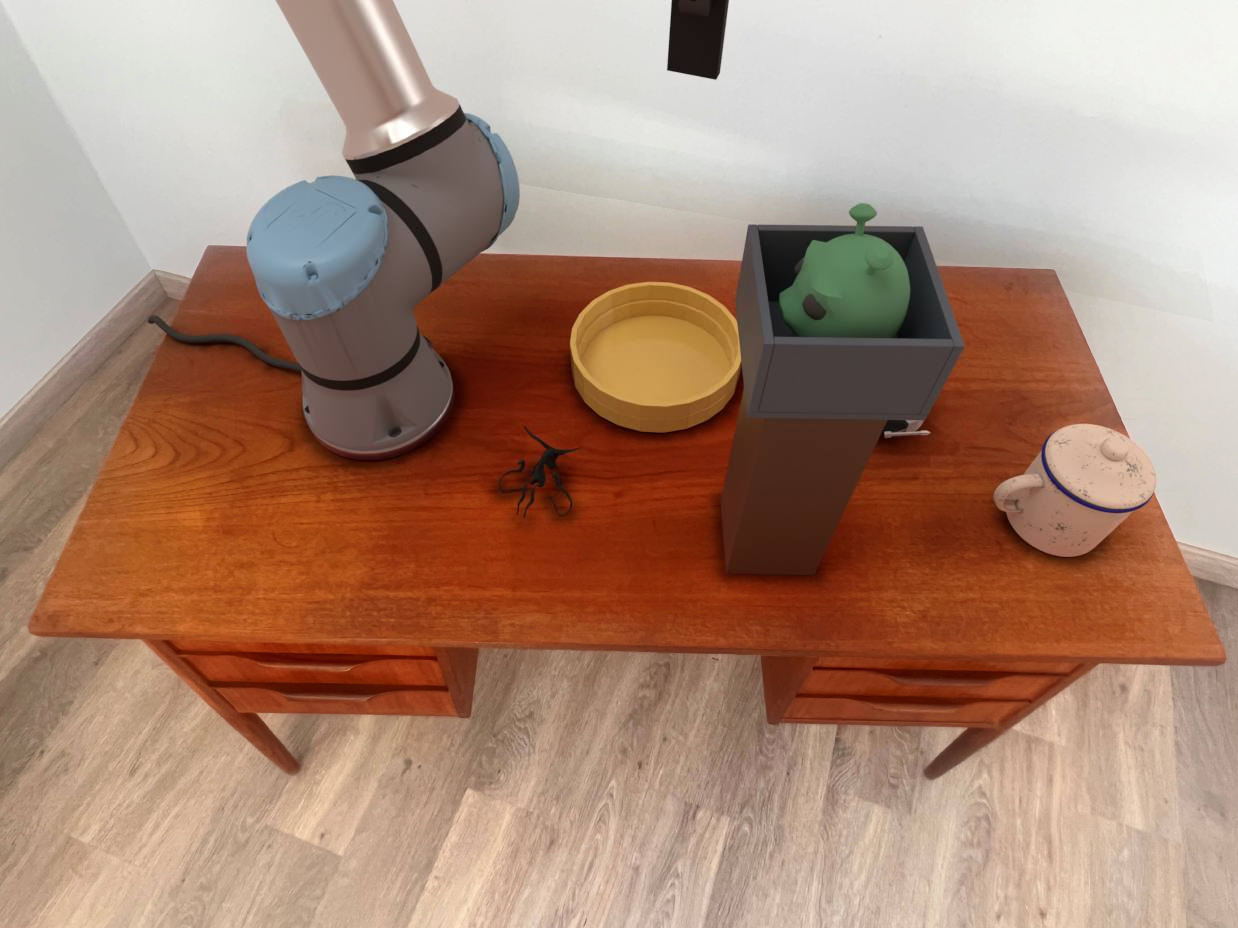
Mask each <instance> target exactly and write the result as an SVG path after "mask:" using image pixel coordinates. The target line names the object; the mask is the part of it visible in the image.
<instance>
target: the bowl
mask: <svg viewBox="0 0 1238 928" xmlns="http://www.w3.org/2000/svg"><path fill="white" fill-rule="evenodd" d="M569 351H570V366H571V373H572V374H571V375H572V378H573V382H574V387H575V389H576V391H577V392H578V393H579V396H580V397H581V399H582V400H583V402H584V403H585V404H586V405H587V406H588V407H589V408H590V409H591V410H592V411H594V412H595V413H596V414H597V415H598V416H600V417H601V418H603V419H605V420H607V421H609V422H611V423H613V424H615V425H616V426H618V427H623V428H626V429H630V430H634V431H637V432H642V433H643V432H645V433H662V434H663V433H668V432H675V431H683V430H687V429H690V428H692V427H695V426H697V425H699V424H702V423H705V422H706V421H708V420H710V419H711V418H712V417H714V416H715V415H716V414H718V413H719V412H721V411H722V410H723V409H724V408H725V406H727V404H728V403H729V401H730V400H731V399H732V397H733V396H734V394H735V391H736V388H737V385H738V382H739V378H740V374H741V370H742V362H741V353H740V343H739V334H738V325H737V318H735V316H734V315H733V314H732V312H731V311H730V310H729V309H728V308H727V307H726V306H725V304H723V303H721V302H719V301H718V300H717V299H715V298H714V297H713V296H711V295H709V294H708V293H705V292H703V291H701V290H698V289H696V288H694V287H691V286H687V285H684V284H678V283H673V282H666V281H665V282H663V281H643V282H636V283H629V284H625V285H622V286H619V287H616V288H613V289H610V290H608V291H606V292H605V293H603V294H601V295H599V296H598V297H596V298H594V299H593V300H592V301H590V302H589V303H588V304H587V305H586V307H585V308H584V309H582V311H580V313H579V314H578V316H577V318H576V319H575V322H574V323H573V325H572V327H571V331H570V341H569Z"/></svg>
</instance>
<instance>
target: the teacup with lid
mask: <svg viewBox="0 0 1238 928" xmlns="http://www.w3.org/2000/svg"><path fill="white" fill-rule="evenodd" d="M1156 487H1157V474H1156V470H1155V467H1154V464H1153V462H1152V461H1151V459H1150V458H1149V456H1148V454H1147V453H1146V452H1145V451H1144V450H1143V448H1142V447H1141V446H1139V444H1137V443H1136V442H1135V441H1133V440H1132V439H1131V438H1129V437H1127V436H1126V435H1124V434H1123V433H1121V432H1119V431H1117V430H1114V429H1112V428H1109V427H1107V426H1102V425H1099V424H1092V423H1075V424H1070V425H1065V426H1064V427H1063V426H1062V427H1061V428H1059V429H1057V430H1055V431H1054V432H1052V433H1050V434H1049V436H1048V437H1046V439H1045V441H1044V442H1043V444H1042V447H1041V450H1040V452H1039V453H1038V454H1037V455H1036V457H1035V458H1034V459H1033V460H1032V462H1031V463H1030V464H1029V466H1028V467H1027V468H1026V470H1025V471H1024V472H1023V474H1021V475H1020V474H1019V475H1017V476H1014V477H1013V476H1012V477H1010V478H1008V479H1006V480H1004V481H1002V482H1001V483H1000V484H999V485H998V486H997V487H996V488H995V490H994V492H993V497H992V498H993V501H994V504H995V506H996V508H997V509H999V510H1000V511H1002V512H1005V513H1006V517H1007V520H1008V522H1009V524H1010V526H1011V527H1012V528H1013V530H1014V531H1015V532H1016V534H1017V535H1018V536H1019V537H1020V538H1021V539H1022V540H1023V541H1024V542H1026V543H1027V544H1028V545H1030V546H1031V547H1033V548H1035V549H1037V550H1038V551H1041V552H1042V553H1045V554H1048V555H1052V556H1056V557H1061V558H1063V557H1065V558H1073V557H1078V556H1082V555H1085V554H1087V553H1089V552H1091V551H1093V550H1094V549H1095V548H1096V547H1097V546H1098V545H1099V544H1100V543H1102V541H1103V540H1105V538H1106V537H1107V536H1109V535H1110V534H1111V533H1112V532H1113V531H1114V530H1115V529H1116V528H1117V527H1119V526H1120V524H1122V523H1123V522H1124V521H1125V520H1126V519H1127V518H1128V517H1129V516H1130V515H1131V514H1133V512H1135V511H1137V510H1139V509H1141V508H1143V507H1145V506H1146V505H1147V504H1148V503H1149V502H1150V501H1151V499H1152V498H1153V495H1154V494H1155V490H1156Z"/></svg>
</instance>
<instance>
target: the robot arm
mask: <svg viewBox="0 0 1238 928" xmlns="http://www.w3.org/2000/svg"><path fill="white" fill-rule="evenodd" d="M275 2H276V4H277V6H278V8H279V9H280V11H281V13H282V15H283V16H284V18H285V20H286V22H287V23H288V25H289V28H290V29H291V31H292V32H293V34H294V37H295V38H296V40H297V42H298V43H299V45H300V47H301V49H302V51H303V52H304V54H305V56H306V58H307V59H308V61H309V63H310V65H311V68H312V69H313V70H314V72H315V74H316V75H317V77H318V79H319V81H320V83H321V85H322V86H323V89H324V90H325V92H326V94H327V95H328V97H329V99H330V101H331V103H332V104H333V106H334V108H335V110H336V112H337V113H338V115H339V117H340V119H341V120H342V122H343V124H344V126H345V137H344V141H343V146H342V150H341V154H342V157H343V158H344V160H345V162H346V163H347V166H348V167H349V169H350V171H351V173H352V174H353V176H354V177H353V178H352V177H348V176H343V175H322V176H317V177H316V178H315V180H314V181H312V182H308V181H307V180H301V181H298V182H296V183H293V184H291V185H289V186H287V187H285V188H284V189H281V190H280V191H279V192H278V193H277V192H276V194H274V195H273V196H272V197H271V198H270V199H268V200H267V202H265V203H264V204H263V205H262V206H261V208H260V209H258V211H257V213H256V214H255V216H254V217H253V219H252V221H251V223H250V225H249V228H248V230H247V234H246V249H245V250H246V251H245V252H246V258H247V261H248V264H249V267H250V269H251V272H252V275H253V277H254V280H255V284H256V288H257V291H258V293H259V296H260V297H261V299H262V300H263V302H264V303H265V304H266V306H267V307H268V308H269V310H270V312H271V314H272V316H273V318H274V320H275V322H276V324H277V326H278V328H279V330H280V332H281V333H282V335H283V338H284V339H285V341H286V343H287V345H288V346H289V349H290V351H291V352H292V354H293V356H294V359H295V360H296V362H294V361H289V360H284V359H279V358H276V357H274V356H271V355H269V354H267V353H265V352H264V351H262V350H261V349H260V348H259V347H258V346H256V345H255V344H254V343H252V342H251V341H250V340H248V339H246V338H244V337H241V336H238V335H233V334H225V333H219V334H218V333H215V334H202V335H192V334H191V335H190V334H186V333H185V334H184V333H182V332H178V331H177V330H175V329H173V327H171V326H170V325H169V324H168V323H167V322H166V321H164V319H163V318H161V317H160V316H158V315H156V314H152V315H150V316H149V317H148V319H147V323H148V324H151V325H154V324H155V325H157V327H159V329H160V330H162V331H163V332H164V333H165V334H167V335H168V336H169V337H171V338H172V339H174V340H176V341H179V342H182V343H189V344H205V343H206V344H207V343H231V344H236V345H238V346H241V347H243V348H245V349H247V350H248V351H249V352H250V353H252V354H253V355H254V356H255V357H256V358H258V359H259V360H260V361H263V362H264V363H266V364H268V365H271V366H274V367H277V368H281V369H285V370H290V371H296V372H298V373H301V391H302V410H303V415H304V419H305V422H306V423H307V425H308V427H309V430H310V431H311V433H312V435H313V436H314V438H315V439H316V440H317V442H319V443H320V444H321V446H323V447H324V448H325V449H327V450H328V451H330V452H332V453H334V454H336V455H337V456H341V457H343V458H347V459H351V460H358V461H378V460H379V461H380V460H387V459H390V458H394V457H398V456H401V455H404V454H407V453H410V452H412V451H413V450H416V449H417V448H419V447H421V446H422V445H424V444H426V443H427V442H428V441H430V440H431V439H432V438H433V437H434V436H435V435H437V433H438V432H439V431H440V430H441V429H442V428H443V427H444V426H445V424H446V423H447V421H448V420H449V417H450V416H451V414H452V412H453V410H454V409H453V408H454V405H455V398H456V395H455V393H456V392H455V386H454V381H453V379H452V375H451V372H450V369H449V367H448V366H447V364H446V363H445V361H444V359H443V358H442V357H441V355H439V353H438V352H437V351H436V350H434V348H436V345H435V344H434V343H433V342H432V341H431V340H430V339H429V338H427V337H426V336H425V335H424V334H422V333H421V332H420V330H419V326H418V323H417V319H416V316H415V315H416V314H415V311H414V310H415V309H416V307H417V306H418V305H419V304H420V303H422V302H423V301H424V300H425V299H426V298H427V297H428V296H429V295H431V293H433V292H434V291H436V290H437V289H439V287H441V286H442V285H443V284H444V283H445V282H446V281H448V280H449V279H450V278H451V277H453V276H454V275H455V274H456V273H458V272H459V271H460V270H461V269H463V268H464V267H465V266H466V265H467V264H469V263H470V262H472V260H473V259H475V258H477V256H478V255H481V254H482V253H483V252H485V251H487V250H489V249H490V248H491V247H492V246H493V245H494V244H495V243H496V242H497V240H498V238H499V237H500V236H501V235H502V234H503V233H504V232H505V231H506V230H507V229H508V228H510V226H511V224H512V223H513V221H514V219H515V217H516V214H517V212H518V209H519V205H520V199H521V198H520V197H521V195H520V194H521V193H520V192H521V191H520V181H519V176H518V170H517V168H516V165H515V162H514V159H513V157H512V154H511V152H510V150H509V148H508V147H507V145H506V143H505V142H504V140H503V139H502V137H501V136H500V134H499V133H497V132H494V133H493V132H492V131H491V126H490V124H489V123H488V122H486V121H485V120H484V119H483V118H481V117H479V116H477V115H475V114H472V113H469V112H464V110H463V108H462V106H461V104H460V102H459V100H458V98H457V97H455V96H453V95H450V94H449V93H446V92H443V91H442V90H439V89H438V88H436V87H435V86H434V85H433V82H432V81H431V78H430V76H429V75H428V74H429V73H428V72H427V70H426V68H425V65H424V64H423V61H422V60H421V57H420V55H419V53H418V51H417V49H416V46H415V44H414V42H413V40H412V38H411V36H410V34H409V32H408V29H407V28H406V24H405V23H404V21H403V19H402V16H401V15H400V13H399V10H398V8H397V7H396V4H395V1H394V0H275ZM729 3H730V0H671V3H670V4H671V5H670V19H669V34H668V49H667V63H666V71H667V72H673V73H679V74H682V75H683V74H684V75H688V76H694V77H698V78H699V77H700V78H703V79H710V80H713V81H715V80H716V81H717V80H718V77H719V75H720V74H721V68H722V60H723V52H724V51H723V50H724V43H725V37H726V36H725V34H726V29H727V28H726V27H727V19H728V11H729Z"/></svg>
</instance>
